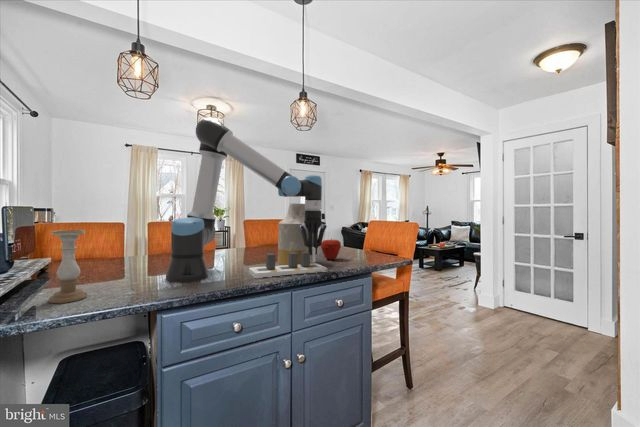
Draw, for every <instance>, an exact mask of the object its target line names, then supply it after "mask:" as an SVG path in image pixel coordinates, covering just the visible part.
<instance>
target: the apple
mask: <svg viewBox="0 0 640 427" xmlns="http://www.w3.org/2000/svg"><path fill="white" fill-rule="evenodd" d="M341 247H342V243H341V242H340V240H339V239H333V238H330V239H325V240H322V244H321V246H320V248H321V251H322V253H323V256H324V258H325V259H327V260H328V259H334V260H337V257H338V254H339V252H340V250H341Z"/></svg>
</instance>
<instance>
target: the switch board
mask: <svg viewBox="0 0 640 427" xmlns="http://www.w3.org/2000/svg"><path fill="white" fill-rule="evenodd" d="M324 270H327V271H328V267H326V266H324V265H321V264H320V263H317V262H315V263H311V264H310V266H308V267H303V266H301V264H297V267H293V268H291V267H289V266H288V265H281V266H279V265H275V269H267V268H266V266H256V267H255V266H253V267H248V274H250V275H251V276H252V277H253V278H254V279H255V278H256V279H263V277H268V278H273V277H272V276H280V275H288V274H296V273H305V272H315V271H324ZM280 277H281V276H280Z"/></svg>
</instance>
